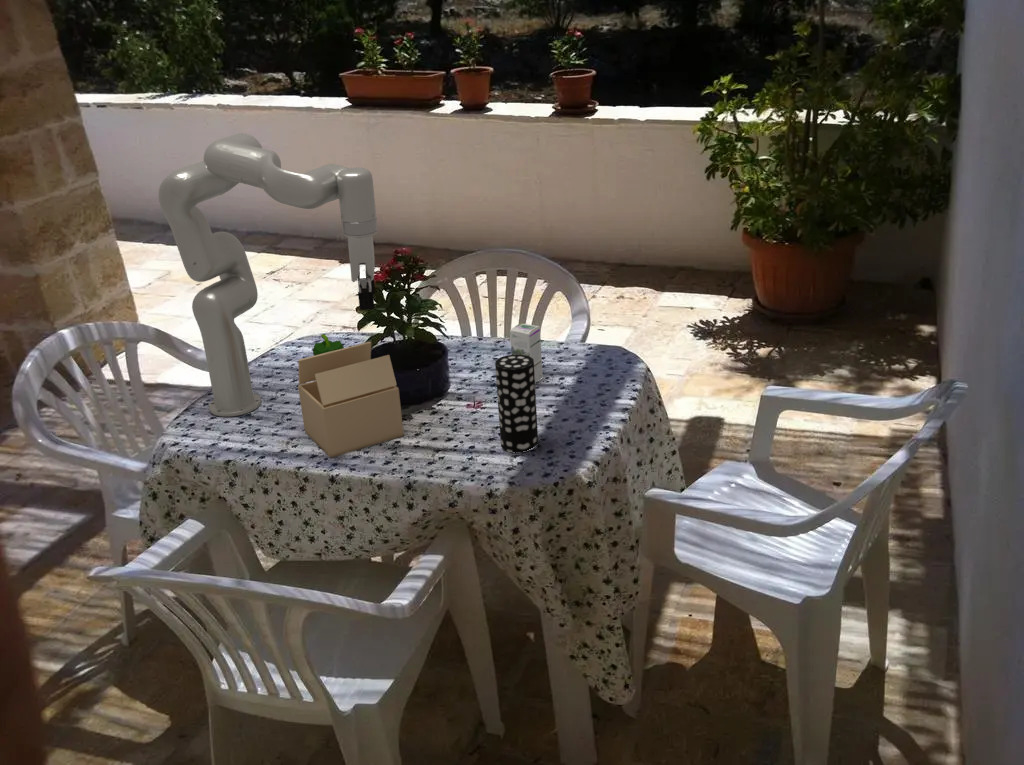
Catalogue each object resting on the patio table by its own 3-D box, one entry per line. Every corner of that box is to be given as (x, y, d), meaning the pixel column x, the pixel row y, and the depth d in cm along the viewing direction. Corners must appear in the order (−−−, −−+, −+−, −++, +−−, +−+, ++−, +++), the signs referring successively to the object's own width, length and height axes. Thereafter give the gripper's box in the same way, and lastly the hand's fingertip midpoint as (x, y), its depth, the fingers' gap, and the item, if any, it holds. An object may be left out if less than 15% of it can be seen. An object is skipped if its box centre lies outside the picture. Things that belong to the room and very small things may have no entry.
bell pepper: (348, 375, 275) (343, 339, 271) (317, 379, 274) (311, 344, 270) (345, 363, 283) (341, 329, 279) (315, 367, 281) (310, 333, 277)
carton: (305, 432, 245) (297, 385, 240) (375, 412, 253) (369, 366, 248) (330, 458, 232) (323, 409, 227) (403, 435, 240) (398, 388, 235)
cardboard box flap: (395, 385, 236) (396, 385, 235) (322, 405, 228) (323, 405, 227) (388, 354, 235) (389, 354, 235) (314, 374, 227) (315, 374, 227)
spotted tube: (525, 456, 227) (520, 371, 219) (493, 448, 232) (487, 365, 224) (545, 440, 234) (540, 358, 226) (513, 433, 238) (508, 352, 230)
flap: (299, 384, 239) (298, 383, 240) (370, 365, 247) (369, 364, 248) (299, 361, 235) (298, 359, 235) (371, 342, 243) (370, 341, 243)
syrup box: (543, 378, 266) (541, 325, 260) (531, 387, 261) (528, 332, 255) (524, 374, 269) (521, 321, 263) (512, 383, 264) (508, 329, 258)
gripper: (343, 217, 233) (351, 290, 240) (340, 239, 217) (349, 316, 224) (377, 215, 234) (384, 288, 241) (376, 236, 218) (384, 313, 225)
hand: (367, 301), depth 233 cm, fingers open, 9 cm apart
